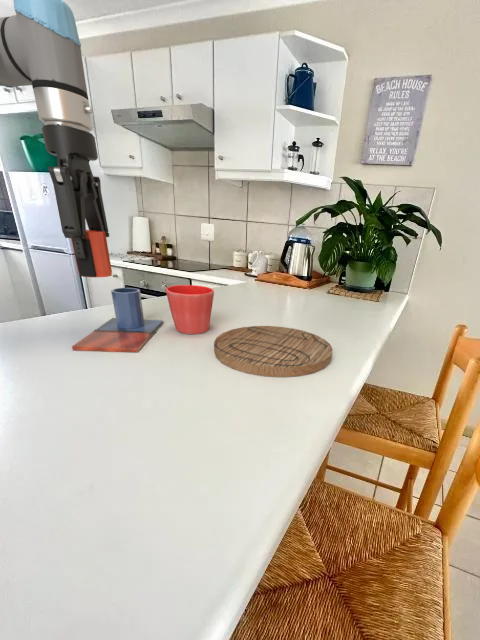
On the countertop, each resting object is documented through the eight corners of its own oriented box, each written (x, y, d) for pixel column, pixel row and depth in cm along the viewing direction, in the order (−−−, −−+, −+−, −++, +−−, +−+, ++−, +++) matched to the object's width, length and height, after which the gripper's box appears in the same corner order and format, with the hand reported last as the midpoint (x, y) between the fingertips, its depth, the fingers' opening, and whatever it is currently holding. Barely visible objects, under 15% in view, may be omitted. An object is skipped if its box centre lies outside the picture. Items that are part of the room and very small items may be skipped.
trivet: (247, 327, 83) (247, 320, 83) (342, 345, 76) (343, 337, 76) (189, 359, 62) (188, 350, 61) (312, 388, 55) (314, 378, 54)
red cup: (73, 276, 61) (62, 230, 58) (87, 272, 66) (78, 229, 63) (105, 278, 62) (97, 232, 58) (116, 273, 67) (109, 231, 64)
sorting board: (72, 350, 62) (71, 345, 62) (112, 321, 80) (112, 317, 79) (137, 352, 63) (137, 348, 63) (162, 323, 81) (162, 319, 81)
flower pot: (224, 328, 81) (223, 289, 77) (193, 340, 72) (191, 296, 68) (191, 320, 85) (189, 282, 81) (159, 330, 76) (154, 288, 72)
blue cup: (113, 328, 73) (106, 292, 69) (122, 320, 78) (117, 287, 74) (139, 329, 73) (134, 293, 70) (147, 322, 79) (143, 288, 75)
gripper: (62, 115, 46) (95, 283, 56) (113, 143, 62) (131, 268, 73) (4, 108, 45) (48, 280, 55) (72, 139, 62) (96, 266, 72)
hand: (95, 273), depth 64 cm, fingers closed on red cup, 6 cm apart
